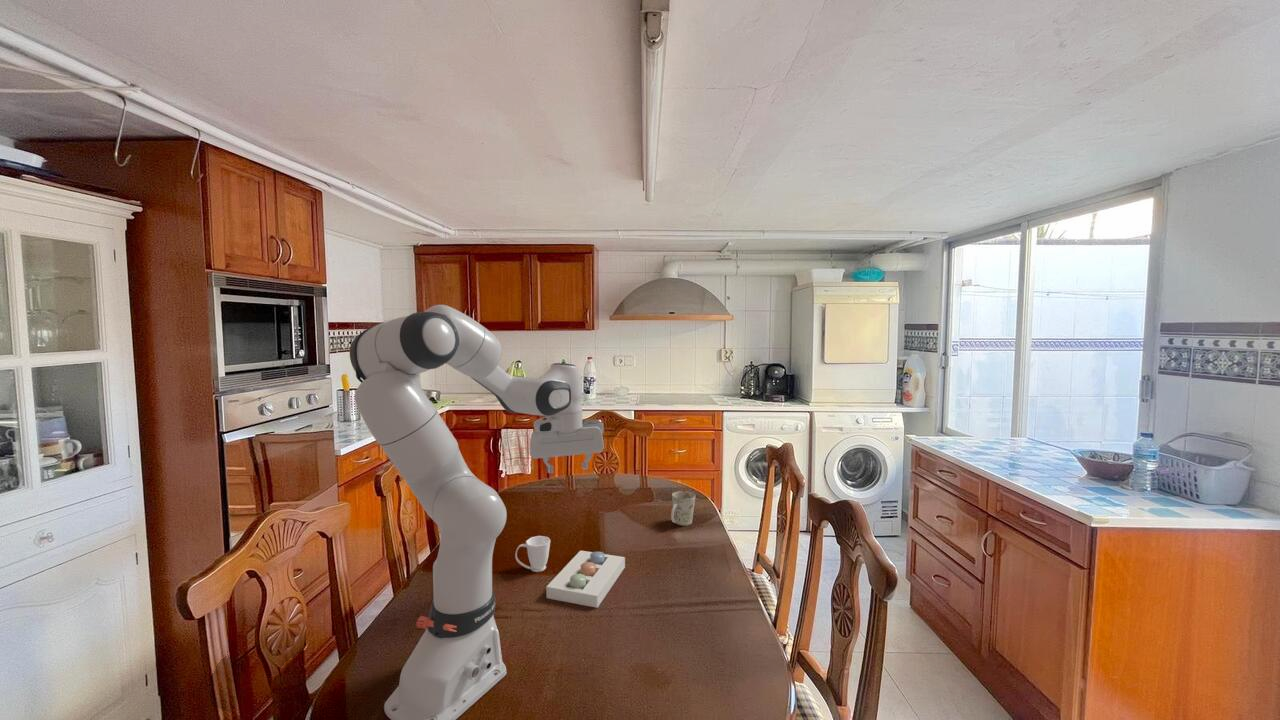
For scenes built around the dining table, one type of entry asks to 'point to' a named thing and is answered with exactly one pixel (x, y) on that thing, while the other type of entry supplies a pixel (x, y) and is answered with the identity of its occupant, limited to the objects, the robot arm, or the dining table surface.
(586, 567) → the terracotta button
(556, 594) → the button panel
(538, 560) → the cup
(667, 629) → the dining table surface
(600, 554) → the slate button
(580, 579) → the sage button
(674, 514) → the mug
